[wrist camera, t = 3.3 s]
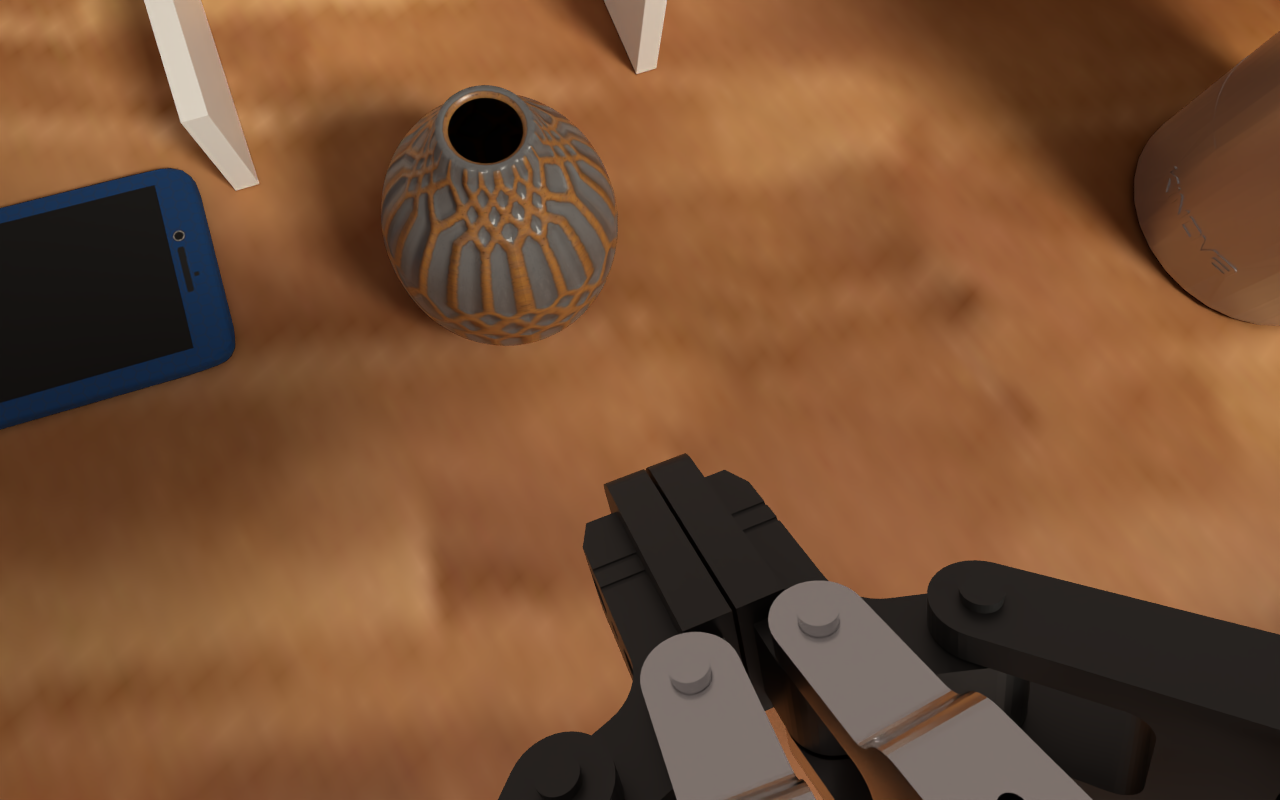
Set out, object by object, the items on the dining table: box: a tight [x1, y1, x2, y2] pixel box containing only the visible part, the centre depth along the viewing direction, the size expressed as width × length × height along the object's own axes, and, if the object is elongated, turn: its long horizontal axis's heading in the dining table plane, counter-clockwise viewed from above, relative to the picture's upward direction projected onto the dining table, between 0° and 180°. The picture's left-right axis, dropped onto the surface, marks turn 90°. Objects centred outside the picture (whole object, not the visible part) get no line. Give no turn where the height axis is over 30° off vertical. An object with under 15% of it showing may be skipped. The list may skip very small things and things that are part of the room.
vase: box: [381, 85, 618, 346], centre depth 23 cm, size 7×7×9 cm
